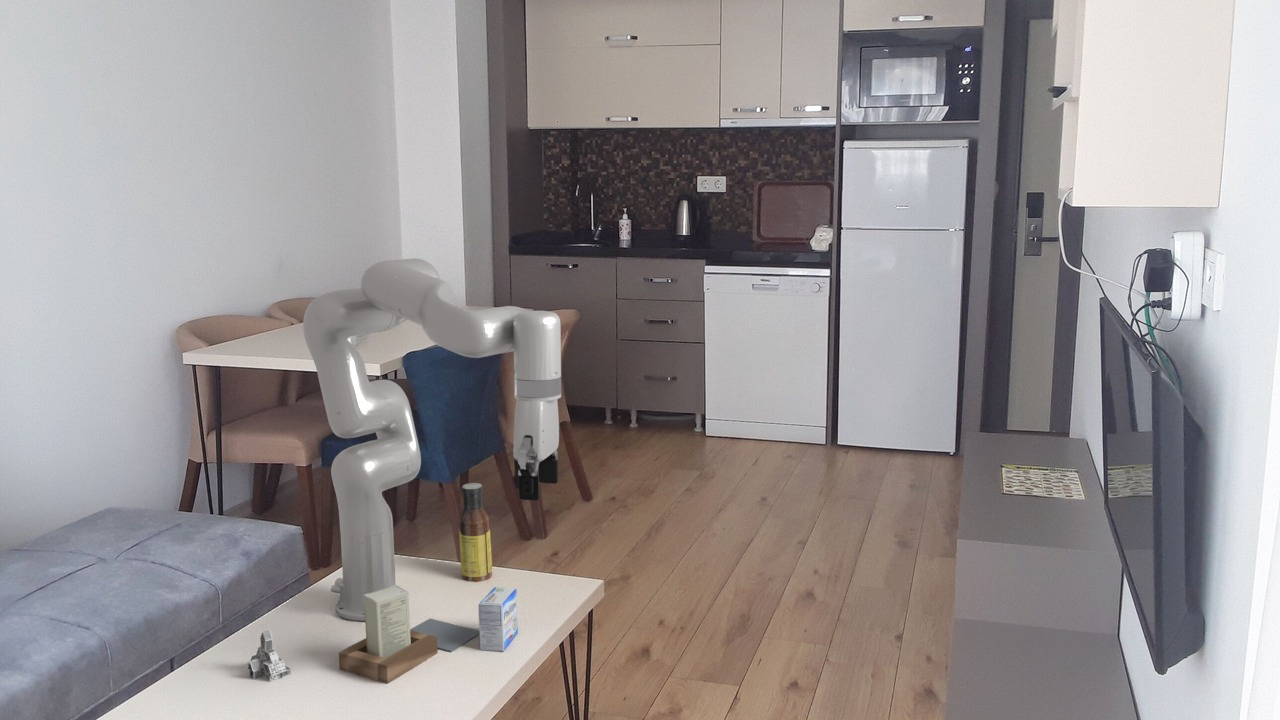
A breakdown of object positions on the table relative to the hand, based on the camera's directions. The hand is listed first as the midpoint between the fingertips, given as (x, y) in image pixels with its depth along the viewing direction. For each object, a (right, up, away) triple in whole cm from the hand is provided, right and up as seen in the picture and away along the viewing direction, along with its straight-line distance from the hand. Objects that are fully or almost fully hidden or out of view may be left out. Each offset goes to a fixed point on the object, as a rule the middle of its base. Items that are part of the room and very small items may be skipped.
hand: (539, 490), depth 172 cm
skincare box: (-26, -29, +5) cm, 39 cm away
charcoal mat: (-19, -28, +15) cm, 36 cm away
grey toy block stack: (-47, -31, 0) cm, 56 cm away
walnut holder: (-26, -29, +5) cm, 39 cm away
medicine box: (-8, -28, +12) cm, 32 cm away
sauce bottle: (-17, -23, +41) cm, 50 cm away
